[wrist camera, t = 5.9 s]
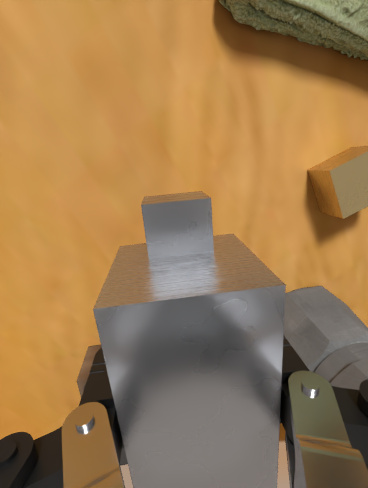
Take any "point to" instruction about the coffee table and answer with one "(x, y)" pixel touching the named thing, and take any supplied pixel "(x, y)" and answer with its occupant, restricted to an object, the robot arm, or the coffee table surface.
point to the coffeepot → (327, 336)
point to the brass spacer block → (342, 182)
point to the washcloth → (309, 21)
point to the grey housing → (193, 352)
